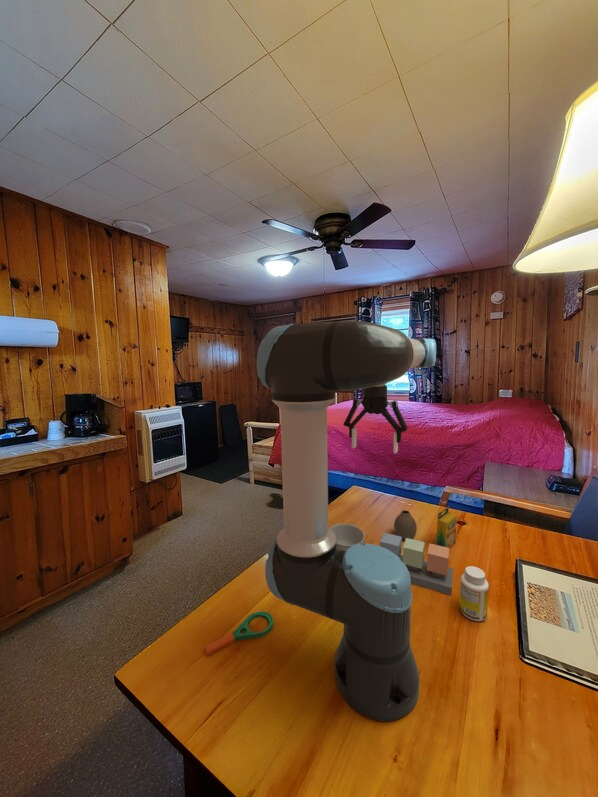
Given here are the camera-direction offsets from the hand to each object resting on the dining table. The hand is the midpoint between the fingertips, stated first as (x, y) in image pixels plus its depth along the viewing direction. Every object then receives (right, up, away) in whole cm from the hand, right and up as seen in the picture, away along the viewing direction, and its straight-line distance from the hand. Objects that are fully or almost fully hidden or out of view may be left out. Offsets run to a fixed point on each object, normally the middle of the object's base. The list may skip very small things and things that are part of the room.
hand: (374, 449), depth 105 cm
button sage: (+6, -27, -19) cm, 33 cm away
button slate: (+1, -27, -16) cm, 31 cm away
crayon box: (+20, -29, -6) cm, 36 cm away
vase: (+10, -28, -1) cm, 30 cm away
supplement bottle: (+15, -32, -31) cm, 48 cm away
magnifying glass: (-37, -35, -36) cm, 62 cm away
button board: (+6, -31, -18) cm, 36 cm away
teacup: (-12, -30, -11) cm, 34 cm away
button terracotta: (+11, -27, -21) cm, 37 cm away
